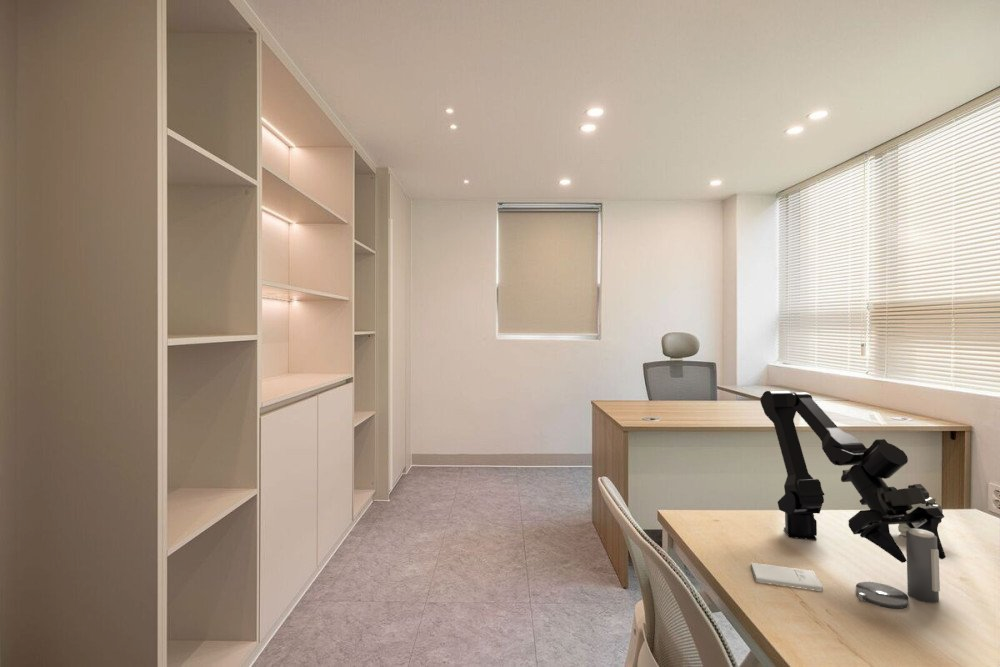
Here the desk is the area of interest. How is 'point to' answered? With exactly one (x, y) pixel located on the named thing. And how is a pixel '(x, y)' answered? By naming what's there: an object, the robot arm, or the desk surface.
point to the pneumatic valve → (930, 502)
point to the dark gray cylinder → (922, 565)
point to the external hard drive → (786, 576)
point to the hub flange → (882, 595)
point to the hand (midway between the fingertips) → (924, 560)
